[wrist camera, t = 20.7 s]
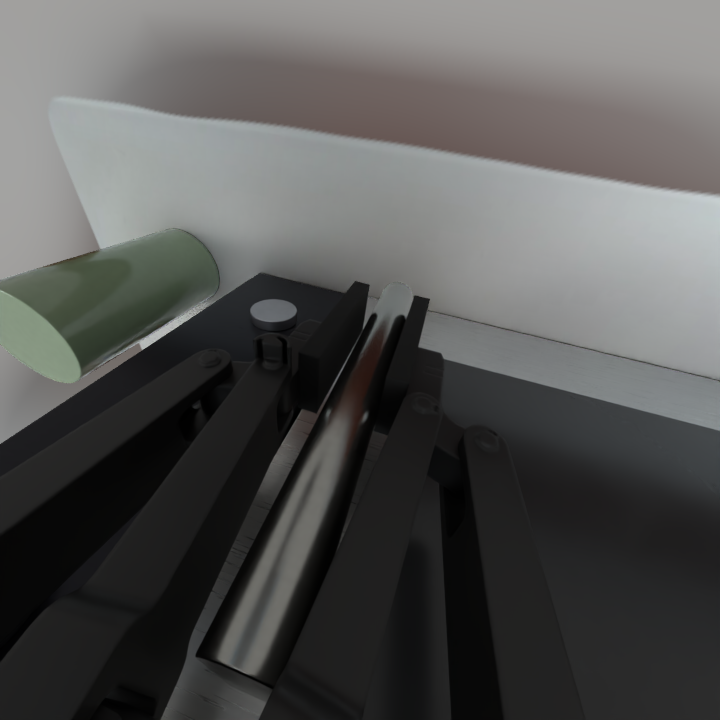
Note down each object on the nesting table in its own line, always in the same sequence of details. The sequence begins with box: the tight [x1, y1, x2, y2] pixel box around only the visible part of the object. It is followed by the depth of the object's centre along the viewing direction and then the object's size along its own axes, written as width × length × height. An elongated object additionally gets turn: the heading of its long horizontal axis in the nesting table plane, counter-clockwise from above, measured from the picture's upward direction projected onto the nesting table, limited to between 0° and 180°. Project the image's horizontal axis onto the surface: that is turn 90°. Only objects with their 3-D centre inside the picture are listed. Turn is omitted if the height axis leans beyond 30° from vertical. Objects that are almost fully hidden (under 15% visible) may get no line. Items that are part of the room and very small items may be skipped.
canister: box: [0, 229, 219, 383], centre depth 24 cm, size 7×7×14 cm
